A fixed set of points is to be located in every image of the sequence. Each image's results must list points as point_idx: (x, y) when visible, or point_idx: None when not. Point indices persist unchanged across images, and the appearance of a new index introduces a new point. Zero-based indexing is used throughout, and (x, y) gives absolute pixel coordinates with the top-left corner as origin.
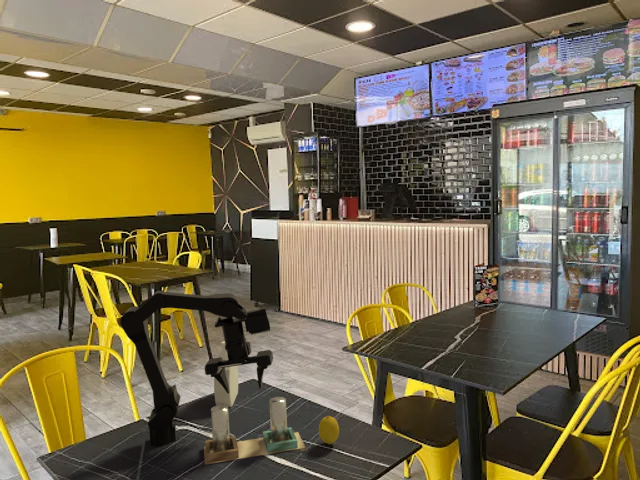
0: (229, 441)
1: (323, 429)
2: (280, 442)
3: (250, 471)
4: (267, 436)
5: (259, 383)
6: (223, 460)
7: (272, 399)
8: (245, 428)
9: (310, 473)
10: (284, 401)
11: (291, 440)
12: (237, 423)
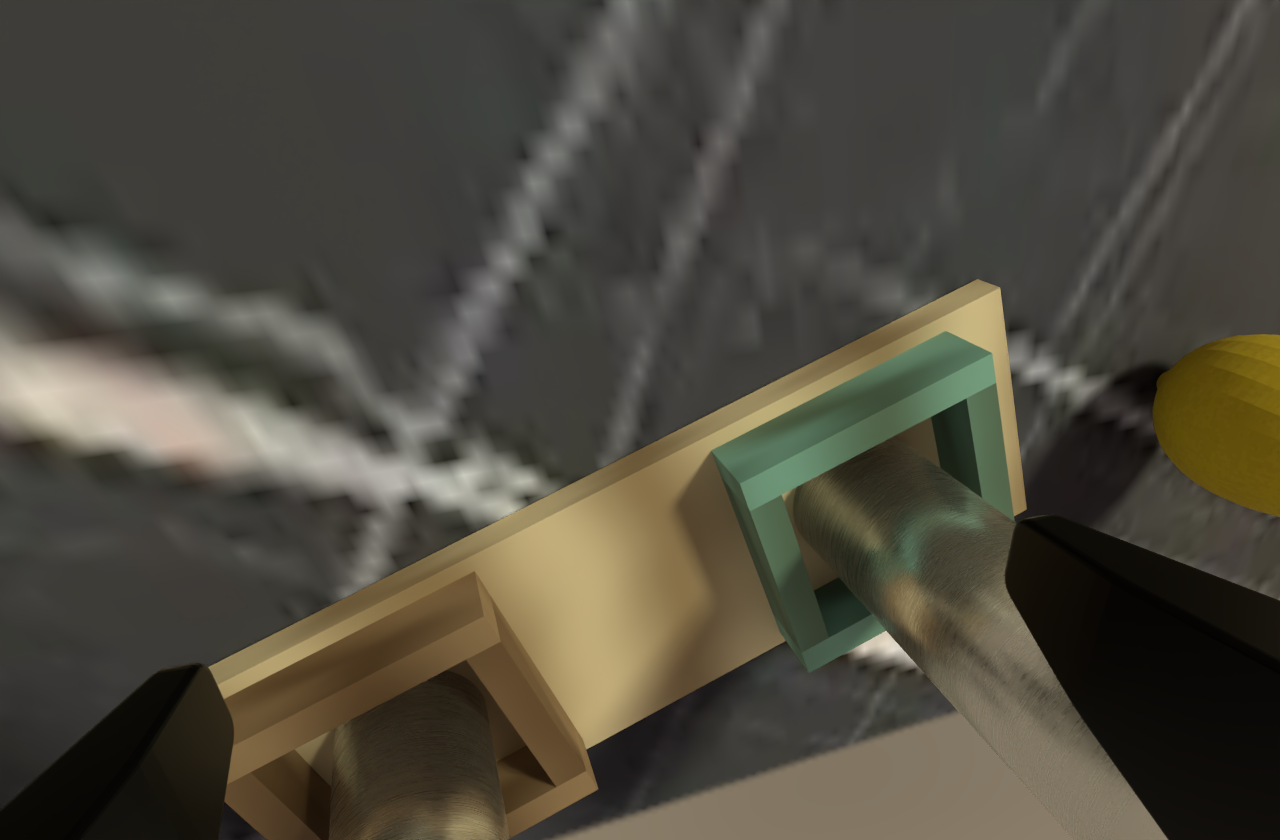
0: (501, 792)
1: (1258, 509)
2: None
3: (684, 775)
4: (793, 553)
5: (1137, 748)
6: None
7: (1149, 814)
8: (425, 175)
9: None
10: None
11: None
12: (242, 25)
